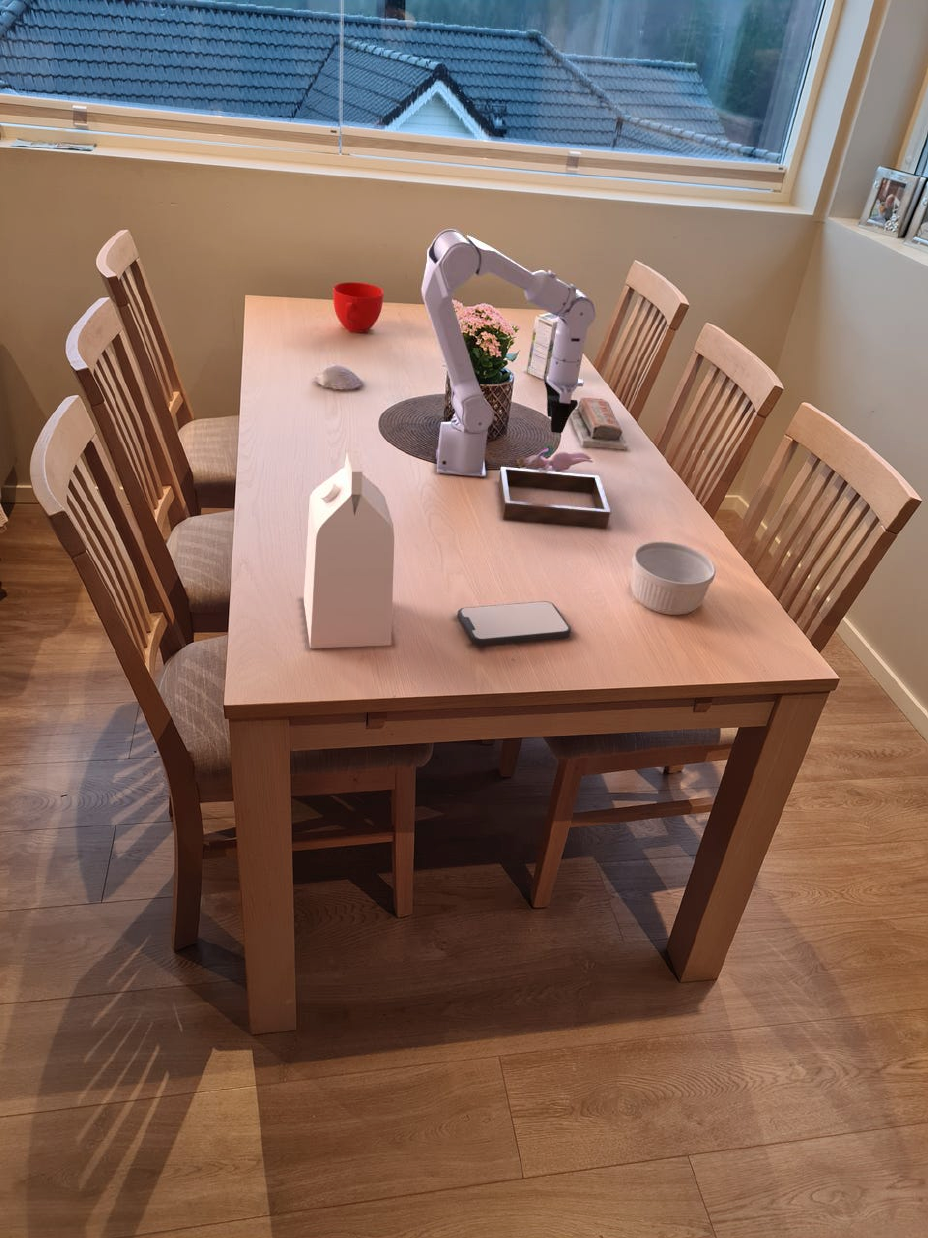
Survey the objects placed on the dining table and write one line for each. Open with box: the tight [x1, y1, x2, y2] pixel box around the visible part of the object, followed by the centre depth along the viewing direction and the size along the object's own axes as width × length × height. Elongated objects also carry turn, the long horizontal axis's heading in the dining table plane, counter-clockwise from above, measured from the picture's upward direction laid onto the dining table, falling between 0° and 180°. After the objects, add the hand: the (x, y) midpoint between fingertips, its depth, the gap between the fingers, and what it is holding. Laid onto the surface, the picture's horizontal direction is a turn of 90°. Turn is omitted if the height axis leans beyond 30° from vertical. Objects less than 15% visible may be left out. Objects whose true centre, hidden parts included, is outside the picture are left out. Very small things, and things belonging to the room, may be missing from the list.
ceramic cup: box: [332, 281, 385, 333], centre depth 243 cm, size 13×17×10 cm
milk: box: [303, 451, 395, 649], centre depth 131 cm, size 12×12×26 cm
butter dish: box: [569, 397, 628, 451], centre depth 206 cm, size 18×5×10 cm
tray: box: [498, 466, 612, 530], centre depth 175 cm, size 19×15×4 cm
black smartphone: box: [456, 600, 572, 648], centre depth 141 cm, size 9×2×16 cm
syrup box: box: [526, 312, 563, 380], centre depth 230 cm, size 6×6×14 cm
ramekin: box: [630, 540, 716, 616], centre depth 152 cm, size 13×13×7 cm
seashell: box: [314, 364, 362, 391], centre depth 213 cm, size 10×6×10 cm
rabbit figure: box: [516, 444, 593, 472], centre depth 187 cm, size 6×6×15 cm
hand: (554, 424), depth 185 cm, fingers open, 7 cm apart
